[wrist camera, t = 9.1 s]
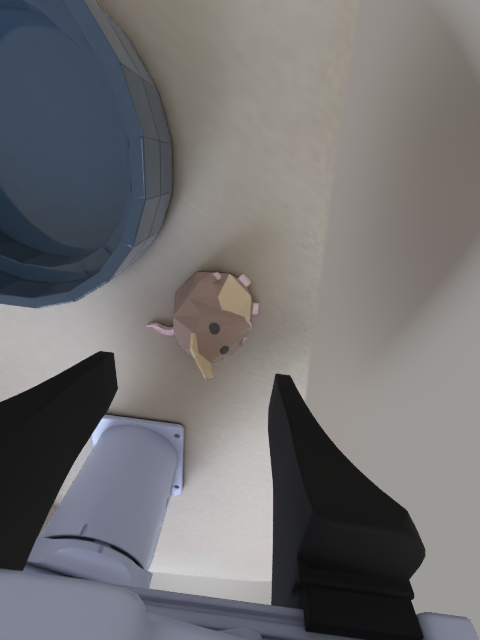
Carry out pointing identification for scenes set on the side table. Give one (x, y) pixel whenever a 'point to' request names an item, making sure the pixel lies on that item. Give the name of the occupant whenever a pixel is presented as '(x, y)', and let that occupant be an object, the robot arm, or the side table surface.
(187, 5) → the side table surface
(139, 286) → the side table surface
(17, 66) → the bowl
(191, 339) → the mouse figurine
